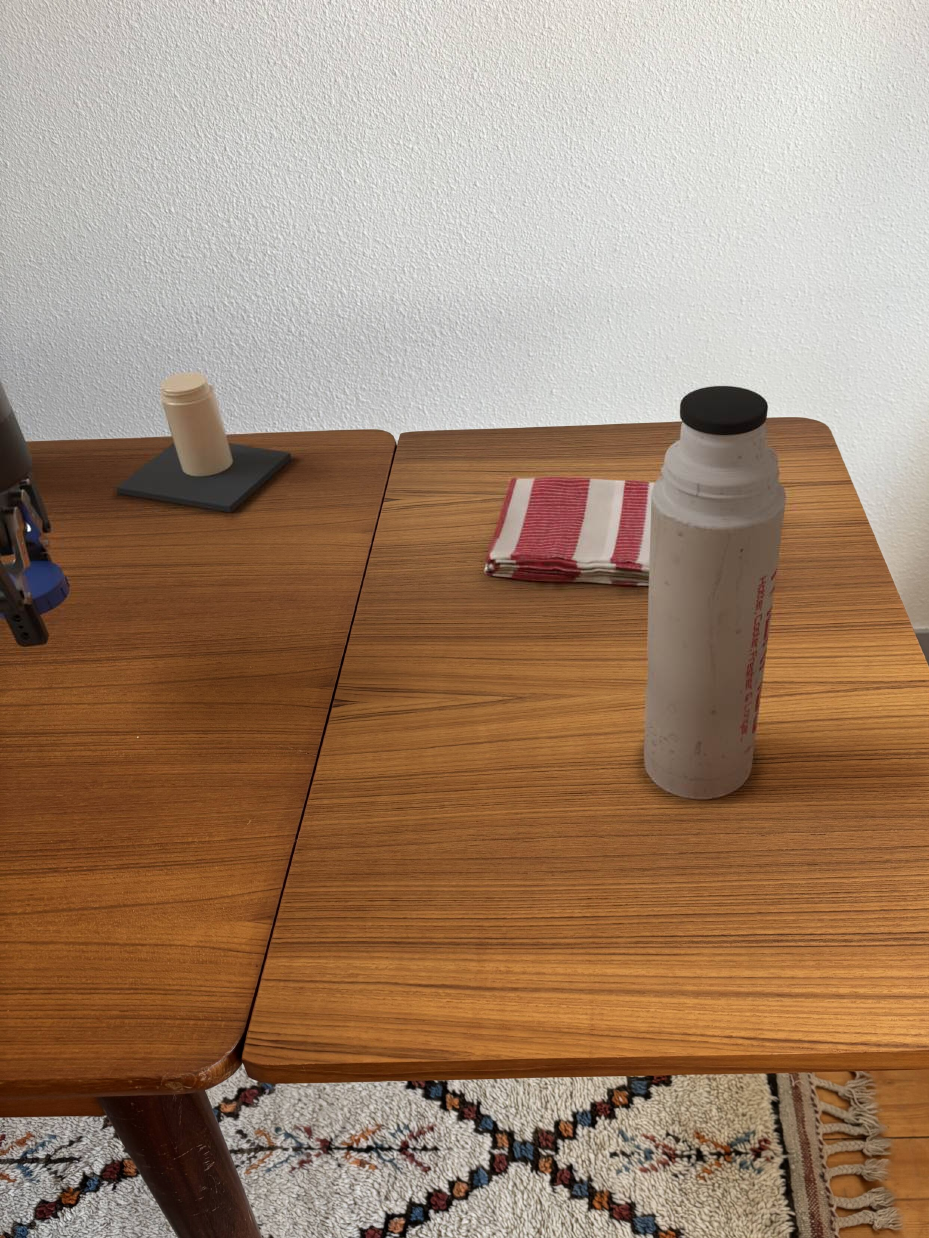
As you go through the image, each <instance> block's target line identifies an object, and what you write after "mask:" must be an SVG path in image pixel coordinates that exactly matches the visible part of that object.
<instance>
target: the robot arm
mask: <svg viewBox="0 0 929 1238" xmlns="http://www.w3.org/2000/svg"><path fill="white" fill-rule="evenodd" d="M33 466H34V459H33V456H32V453H31V451H30V449H29V446H28V443H27V441H26V439H25V436H24V433H23V431H22V429H21V426H20V424H19V422H18V419H17V416H16V414H15V412H14V409H13V406H12V404H11V402H10V400H9V397H8V395H7V392H6V389H5V386H4V385H3V382H2V381H1V379H0V614H3V615H4V617H5V619H4V620H5V621H6V623H7V625H8V628H9V629H10V631H11V634H12V635H13V638H14V640H15V642H16V644H17V645H18V646H19V647H21V648H22V647H23V648H28V647H36V646H44V645H46V644H47V643H48V641H49V637H50V633H49V631H48V629H47V627H46V624H45V621H44V620H43V618H42V616H41V615H42V614H41V615H40V613H39V611H38V609H37V606H36V604H35V602H34V600H33V598H32V594H31V592H30V588H29V584H28V580H27V577H26V572H27V571H28V570H29V569H30V567H31V564H30V561H49V562H52V563H54V562H53V560H52V557H51V555H50V553H49V552H50V551H51V543H50V540H49V538H48V536H47V535H46V534H51V532H52V524H51V522H50V519H49V517H48V512H47V510H46V508H45V504H44V502H43V499H42V496H41V493H40V490H39V487H38V485H37V481H36V479H35V476H34V473H33V470H32V469H33ZM13 555H14V560H13V561H8V562H2V561H3V560H1V558H2V557H8V556H9V557H10V556H13ZM9 574H11V575H12V576H13V577H14V580H15V584H16V586H15V585H14V583H13V581H12V579H11V578H10V576H9Z"/></svg>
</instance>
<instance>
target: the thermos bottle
mask: <svg viewBox="0 0 929 1238" xmlns="http://www.w3.org/2000/svg"><path fill="white" fill-rule="evenodd" d="M768 410H769V405H768V401H767V400H766V398H765V397H763V395H761V394H759V393H757V392H755V391H753V390H751V389H748V388H744V387H739V386H732V385H711V386H705V387H701V388H698V389H694V390H692V391H690V392H688V393H687V394H685V395H684V396H683V398H682V399H681V400H680V403H679V418H680V420H681V422H682V423H681V426H680V435H679V439H678V440H676V441H675V442H673V444H671V445H670V446H669V447H668V448H667V450H666V451H665V455H664V461H663V465H662V466H660V471H661V475H660V476H659V477H658V478H657V479H656V481H655V484H654V486H653V489H652V494H651V528H650V562H649V586H648V597H647V598H648V600H647V601H648V603H647V604H648V605H647V633H646V634H647V636H646V653H647V655H646V656H647V657H646V658H647V660H646V661H647V677H646V686H645V687H646V688H645V700H644V701H645V707H644V736H643V737H644V739H643V741H644V742H643V765H644V768H645V771H646V773H647V774H648V776H649V778H650V779H651V781H652V782H653V783H654V784H655V785H657V786H658V787H659V788H660V789H662V790H664V791H665V792H667V793H669V794H672V795H674V796H677V797H681V798H684V799H692V800H711V799H718V798H721V797H724V796H727V795H729V794H731V793H734V792H736V791H737V790H738V789H739V788H741V787H742V786H743V785H744V784H745V782H746V781H747V780H748V779H749V777H750V775H751V772H752V768H753V762H754V761H753V760H754V751H755V746H756V745H755V744H756V737H757V729H758V721H759V714H760V713H759V712H760V706H761V698H762V697H761V696H762V691H763V682H764V674H765V667H766V657H767V652H768V651H767V650H768V642H769V635H770V627H771V620H772V613H773V612H772V611H773V605H774V603H773V602H774V594H775V589H776V588H775V587H776V580H777V573H778V572H777V571H778V566H779V565H778V564H779V557H780V556H779V555H780V548H781V539H782V532H783V524H784V517H785V508H786V501H787V494H786V489H785V488H784V485H782V483H781V481H779V479H780V473H781V472H780V469H779V458H778V454H777V452H776V451H775V449H774V448H773V447H772V446H770V445H769V443H767V442H766V437H767V426H766V423H765V422H766V421H767V418H768V417H767V416H768Z"/></svg>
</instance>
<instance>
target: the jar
mask: <svg viewBox="0 0 929 1238" xmlns="http://www.w3.org/2000/svg"><path fill="white" fill-rule="evenodd" d="M159 400H160V403H161V406H162V409H163V412H164V416H165V419H166V422H167V426H168V428H169V431H170V435H171V438H172V442H173V443H174V445H175V448H176V452H177V455H178V458H179V461H180V465H181V468H182V470H183V472H184V473H186V474H188V475H191V476H210V475H214V474H217V473H220V472H222V471H224V470H226V469H227V468H229V467H230V466H231V465H232V462H233V458H232V454H231V451H230V447H229V440H228V436H227V432H226V429H225V424H224V422H223V418H222V414H221V411H220V407H219V403H218V399H217V396H216V392H215V388H214V387H213V386H212V385H211V384H209V381H208V377H207V376H206V375H205V374H203V373H200V372H188V371H187V372H181V373H176V374H173V375H170V376H168V377H166V378H164V379H162V381H161V383H160V396H159Z"/></svg>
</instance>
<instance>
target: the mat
mask: <svg viewBox="0 0 929 1238" xmlns="http://www.w3.org/2000/svg"><path fill="white" fill-rule="evenodd" d="M228 443H229V442H228ZM229 447H230V451H231V454H232V458H233V462H232V465H231V466H230V467H229V468H227V469H226V470H224V471H222V472H220V473H217V474H214V475H210V476H191V475H188V474H186V473H184V472H183V470H182V468H181V465H180V461H179V458H178V455H177V452H176V448H175V445H174V442H173V443H171V444H170V445H168V447H166V448H165V449H163V450H162V451H161V452H160V453H158V454H157V455H156V456H155V457H153V458H152V459H150V460H149V461H148V462H147V463H145V464H144V465H142V467H140V468H139V469H138V470H136V471H135V472H134V473H132V474H131V475H130V476H128V477H127V478H126V479H125V480H123V481H121V483H119V484H118V485H117V486H116V487H115V489H116V492H117V494H118V495H125V496H131V497H136V498H141V499H148V500H154V501H160V502H164V503H172V504H176V505H177V504H178V505H182V506H189V507H194V508H200V509H206V510H211V511H218V512H223V513H229V514H232V513H233V512H235V511H236V510H237V508H239V507H240V506H241V505H242V504H243V503H244V502H245V501H246V500H248V499H249V498H250V497H251V496H253V494H254V493H255V492H257V491H258V490H259V489H260V488H261V487H262V486H264V484H265V483H266V482H269V480H270V479H271V478H272V477H273V476H274V475H275V474H277V473H278V472H279V471H280V470H281V469H282V468H283V467H285V465H286V464H288V463H289V462H290V461H291V460H292V454H291V452H289V451H282V450H276V449H271V448H270V449H269V448H264V447H263V448H262V447H255V446H250V445H242V444H237V443H229Z"/></svg>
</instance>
